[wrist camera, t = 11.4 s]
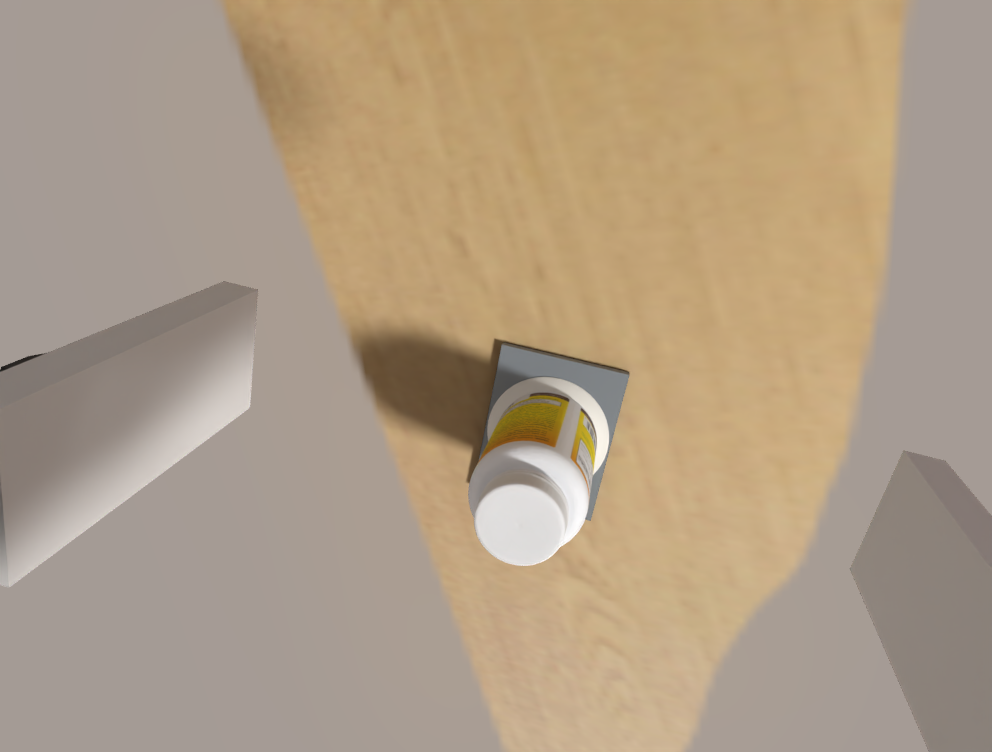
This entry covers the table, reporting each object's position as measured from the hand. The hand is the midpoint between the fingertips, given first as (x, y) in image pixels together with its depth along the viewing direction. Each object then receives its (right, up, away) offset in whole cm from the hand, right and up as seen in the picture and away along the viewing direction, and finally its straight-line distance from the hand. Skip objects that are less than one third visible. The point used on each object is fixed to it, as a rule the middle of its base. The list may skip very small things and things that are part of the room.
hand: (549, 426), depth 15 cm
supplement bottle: (+2, -2, +26) cm, 26 cm away
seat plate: (+2, -2, +26) cm, 27 cm away
